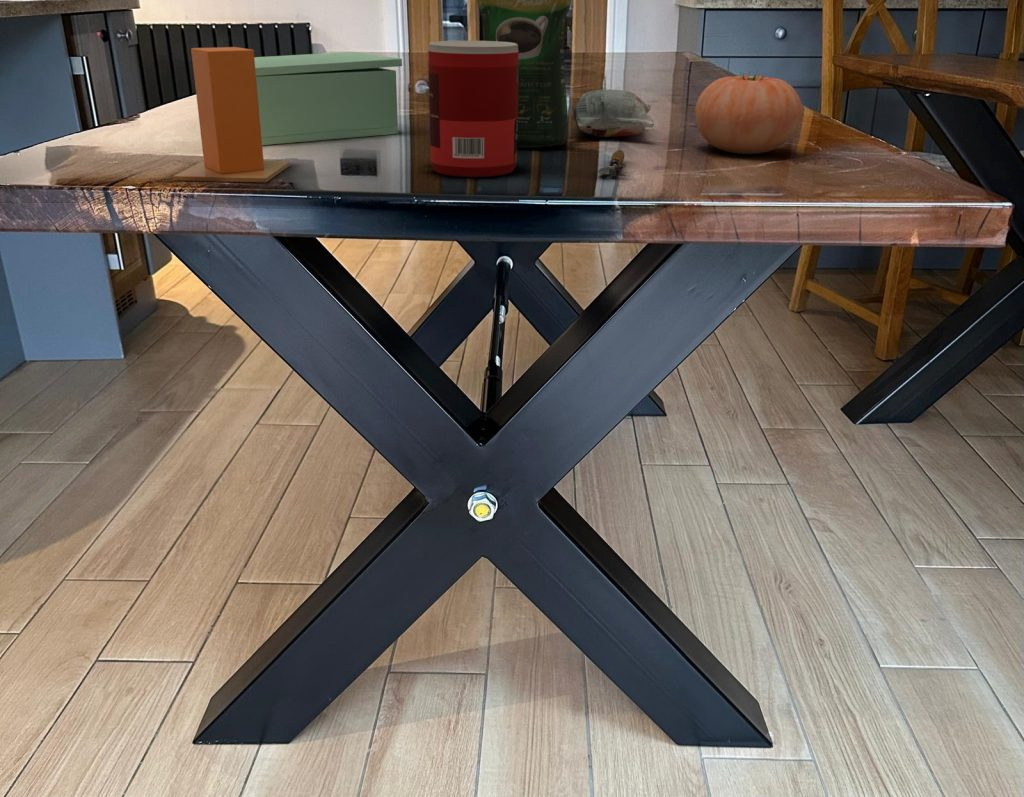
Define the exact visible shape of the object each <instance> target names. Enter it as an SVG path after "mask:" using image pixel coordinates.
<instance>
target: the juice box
mask: <svg viewBox="0 0 1024 797" xmlns="http://www.w3.org/2000/svg"><path fill="white" fill-rule="evenodd" d="M190 52H191V59H192V60H191V61H192V70H193V77H194V88H195V95H196V104H197V113H198V122H199V130H200V138H201V147H202V148H201V150H202V157H203V160H204V166H205V167H206V168H209V169H211V170H213V171H215V172H218V173H220V174H225V173H235V172H245V171H255V170H264V161H265V160H264V151H263V145H262V138H261V127H260V116H259V105H258V93H257V82H256V71H255V60H254V57H255V50H254V49H250V48H246V47H245V48H244V47H239V46H238V47H237V46H230V47H229V46H225V47H222V46H221V47H192V48H191V49H190Z"/></svg>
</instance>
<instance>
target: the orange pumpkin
mask: <svg viewBox="0 0 1024 797" xmlns="http://www.w3.org/2000/svg"><path fill="white" fill-rule="evenodd" d="M765 74H766V73H765V72H764V73H763V75H762V72H760V73H759V75H758V76H757V73H755V74H754V76H751V74H750V71H748V73H747V75H745V74H744V72H742V74H741V71H739V75H736V76H724V77H720V78H718V79H716V80H714V81H711V83H710V84H709V85H707V86H706V87H705V88H704V90H703V91H702V92H701V93H700V95H699V97H698V98H697V100H696V103H695V108H694V119H695V124H696V127H697V130H698V132H699V133H700V135H701V136H702V137H703V139H704V140H705V141H707V143H709V144H710V145H712V146H713V147H714V148H716V149H717V150H721V151H723V152H727V153H730V154H737V155H759V154H764V153H768V152H771V151H773V150H776V149H778V148H780V147H781V146H783V145H784V144H786V143H787V142H788V141H790V140H791V138H792V137H793V136H794V135H795V134H796V132H797V131H798V128H799V127H800V125H801V122H802V119H803V104H802V101H801V98H800V96H799V94H798V92H797V91H796V90H795V88H794V87H793V86H792V85H791V84H789V83H788V82H787V81H785V80H783V79H780V78H776V77H767V76H765Z"/></svg>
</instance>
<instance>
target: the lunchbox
mask: <svg viewBox="0 0 1024 797" xmlns="http://www.w3.org/2000/svg"><path fill="white" fill-rule="evenodd" d="M256 82H257V93H258V105H259V116H260V127H261V138H262V146H267V145H268V146H269V145H282V144H293V143H305V142H316V141H329V140H330V141H331V140H339V139H351V138H352V139H353V138H365V137H376V136H377V137H378V136H389V135H397V134H399V125H398V124H399V123H398V121H399V120H398V94H397V70H394V69H390V68H389V69H388V68H384V67H382V68H367V69H352V70H338V71H323V72H308V73H293V74H278V75H263V76H256Z"/></svg>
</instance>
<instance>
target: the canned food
mask: <svg viewBox="0 0 1024 797" xmlns="http://www.w3.org/2000/svg"><path fill="white" fill-rule="evenodd" d="M427 53H428V56H427V57H428V61H427V66H428V67H427V68H428V72H427V73H428V107H429V108H428V111H429V112H428V113H429V152H430V163H431V167H432V170H433V171H434V172H436V173H437V174H439V175H444V176H450V177H460V178H488V177H497V176H498V177H499V176H504V175H508V174H510V173H512V172H513V171H514V170H515V168H516V164H517V161H518V148H517V121H518V73H519V62H518V59H519V51H518V44H516V43H511V42H499V41H483V40H440V41H439V40H438V41H431V42H429V43H428V50H427Z"/></svg>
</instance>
